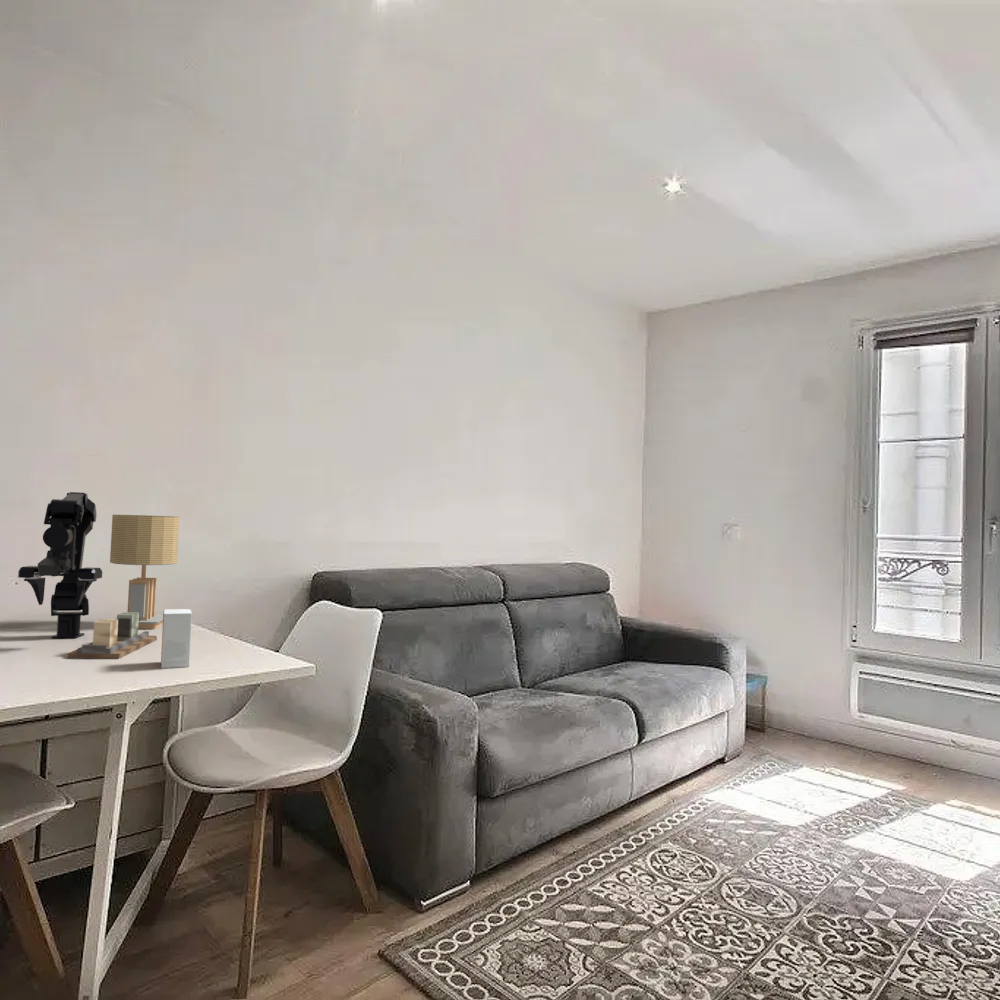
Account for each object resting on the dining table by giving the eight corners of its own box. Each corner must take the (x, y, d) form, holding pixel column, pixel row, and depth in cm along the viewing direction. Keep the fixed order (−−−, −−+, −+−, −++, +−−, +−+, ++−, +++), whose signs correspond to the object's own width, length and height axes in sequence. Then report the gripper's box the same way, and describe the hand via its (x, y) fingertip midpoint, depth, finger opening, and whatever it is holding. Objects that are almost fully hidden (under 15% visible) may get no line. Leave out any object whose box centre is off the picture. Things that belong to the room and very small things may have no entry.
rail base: (112, 639, 207) (113, 610, 207) (156, 639, 208) (157, 611, 209) (67, 658, 179) (69, 624, 179) (119, 658, 181) (120, 625, 181)
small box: (160, 661, 179) (163, 609, 179) (188, 660, 182) (191, 608, 182) (160, 668, 172) (163, 613, 172) (189, 667, 174) (192, 612, 175)
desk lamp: (166, 630, 225) (172, 517, 226) (97, 630, 221) (103, 514, 222) (180, 621, 244) (185, 516, 245) (116, 621, 240) (122, 514, 241)
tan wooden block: (101, 646, 189) (102, 619, 189) (117, 646, 190) (118, 619, 190) (92, 649, 184) (93, 622, 184) (109, 650, 184) (110, 622, 185)
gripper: (8, 546, 184) (4, 608, 184) (86, 549, 187) (83, 609, 186) (30, 544, 195) (27, 603, 195) (104, 547, 198) (101, 604, 197)
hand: (59, 605), depth 193 cm, fingers open, 9 cm apart
